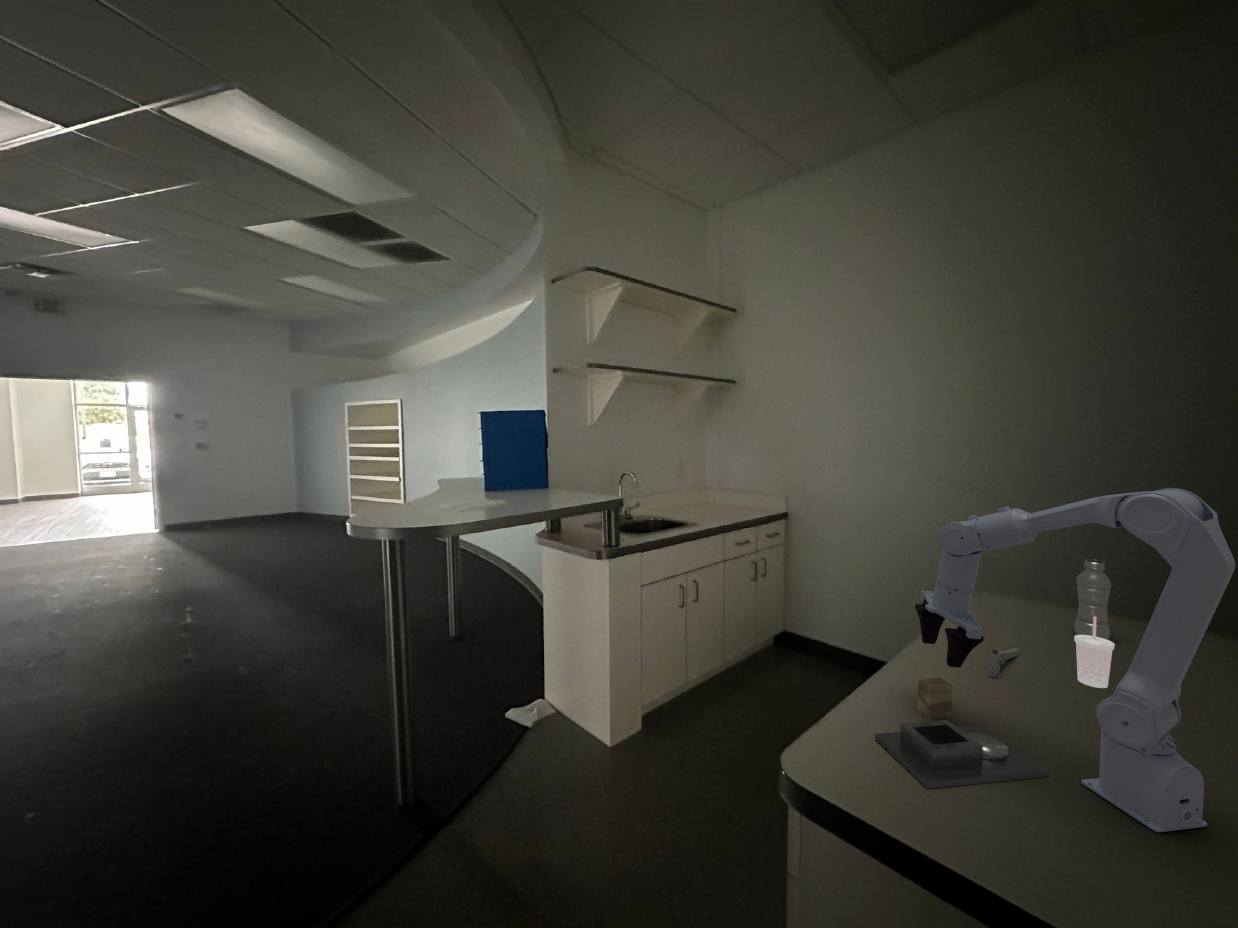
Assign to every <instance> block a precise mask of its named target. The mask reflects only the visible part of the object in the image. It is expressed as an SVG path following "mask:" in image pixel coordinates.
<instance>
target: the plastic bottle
mask: <svg viewBox="0 0 1238 928" xmlns="http://www.w3.org/2000/svg"><path fill="white" fill-rule="evenodd" d="M1083 568H1084V570H1083V571H1081V572H1080V573H1079V574H1078V575H1077V577H1076V580H1075V581H1076V582H1075V583H1076V589H1077V594H1078V595H1077V596H1078V597H1077V598H1078V599H1077V600H1078V607H1077V608H1078V609H1077V616H1076V618H1075V622H1074V631H1075V633H1076V635H1090V636H1093V616H1096V617H1097V618H1096V637H1100V638H1103V639H1106V640H1110V635H1111V630H1110V625H1109V617H1108V605H1109V598H1110V594H1111V589H1112V582H1111V580H1110V579H1109V577H1108V576H1107V575H1106V573H1105V572H1104V571H1105V569H1106V568H1105V561H1102V560H1097V559H1085V560H1084V563H1083Z"/></svg>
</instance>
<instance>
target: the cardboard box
mask: <svg viewBox="0 0 1238 928" xmlns="http://www.w3.org/2000/svg"><path fill="white" fill-rule="evenodd" d="M918 710H920V711H921V712H922V713H923V714H924V716H925V715H926V716H925V717H926V718H927V717H928V718H927V719H929V720H932V719H933V720H934V719H943V718H944V719H945V718H952V717H953V716H952V715H953V684H951V683H949V682H948V681H947V680H945V679H943V678H942V677H928V678H926V677H925V678H918V679H917V711H918ZM921 712H920V713H921ZM922 713H921V714H922ZM923 714H922V715H923Z"/></svg>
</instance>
